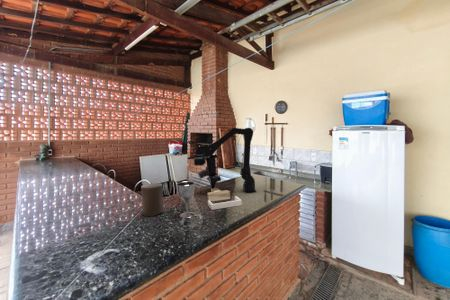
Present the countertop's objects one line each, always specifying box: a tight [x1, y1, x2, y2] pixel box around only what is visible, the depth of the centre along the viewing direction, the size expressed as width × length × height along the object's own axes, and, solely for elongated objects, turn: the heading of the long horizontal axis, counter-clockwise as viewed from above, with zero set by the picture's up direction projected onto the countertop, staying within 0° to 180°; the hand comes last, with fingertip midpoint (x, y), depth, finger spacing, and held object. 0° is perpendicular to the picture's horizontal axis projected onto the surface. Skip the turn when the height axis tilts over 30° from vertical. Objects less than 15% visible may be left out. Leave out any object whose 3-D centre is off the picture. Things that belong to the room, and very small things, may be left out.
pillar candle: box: [140, 182, 165, 217], centre depth 101 cm, size 10×10×15 cm
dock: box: [207, 195, 243, 211], centre depth 108 cm, size 16×8×2 cm, turn 108°
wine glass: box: [176, 180, 196, 219], centre depth 96 cm, size 8×8×15 cm
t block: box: [207, 187, 231, 202], centre depth 121 cm, size 11×12×4 cm
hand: (212, 189), depth 130 cm, fingers closed
